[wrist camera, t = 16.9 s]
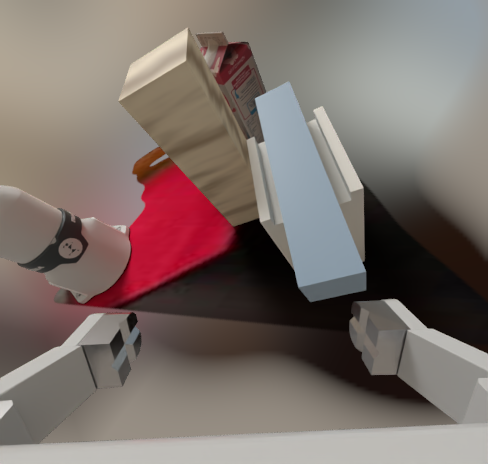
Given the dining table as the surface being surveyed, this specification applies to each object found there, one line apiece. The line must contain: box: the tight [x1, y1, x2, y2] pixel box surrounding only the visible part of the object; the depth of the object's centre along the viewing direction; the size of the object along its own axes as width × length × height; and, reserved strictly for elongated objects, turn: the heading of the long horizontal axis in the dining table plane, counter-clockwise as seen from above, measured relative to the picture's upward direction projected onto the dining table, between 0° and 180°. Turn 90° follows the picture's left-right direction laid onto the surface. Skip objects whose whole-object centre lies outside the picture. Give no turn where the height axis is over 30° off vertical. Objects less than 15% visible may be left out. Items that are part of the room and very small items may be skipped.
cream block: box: [246, 106, 365, 269], centre depth 30 cm, size 12×9×16 cm
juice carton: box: [196, 32, 266, 144], centre depth 43 cm, size 7×7×22 cm
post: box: [119, 28, 259, 227], centre depth 35 cm, size 8×8×26 cm
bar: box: [255, 82, 366, 302], centre depth 22 cm, size 22×4×4 cm, turn 6°
